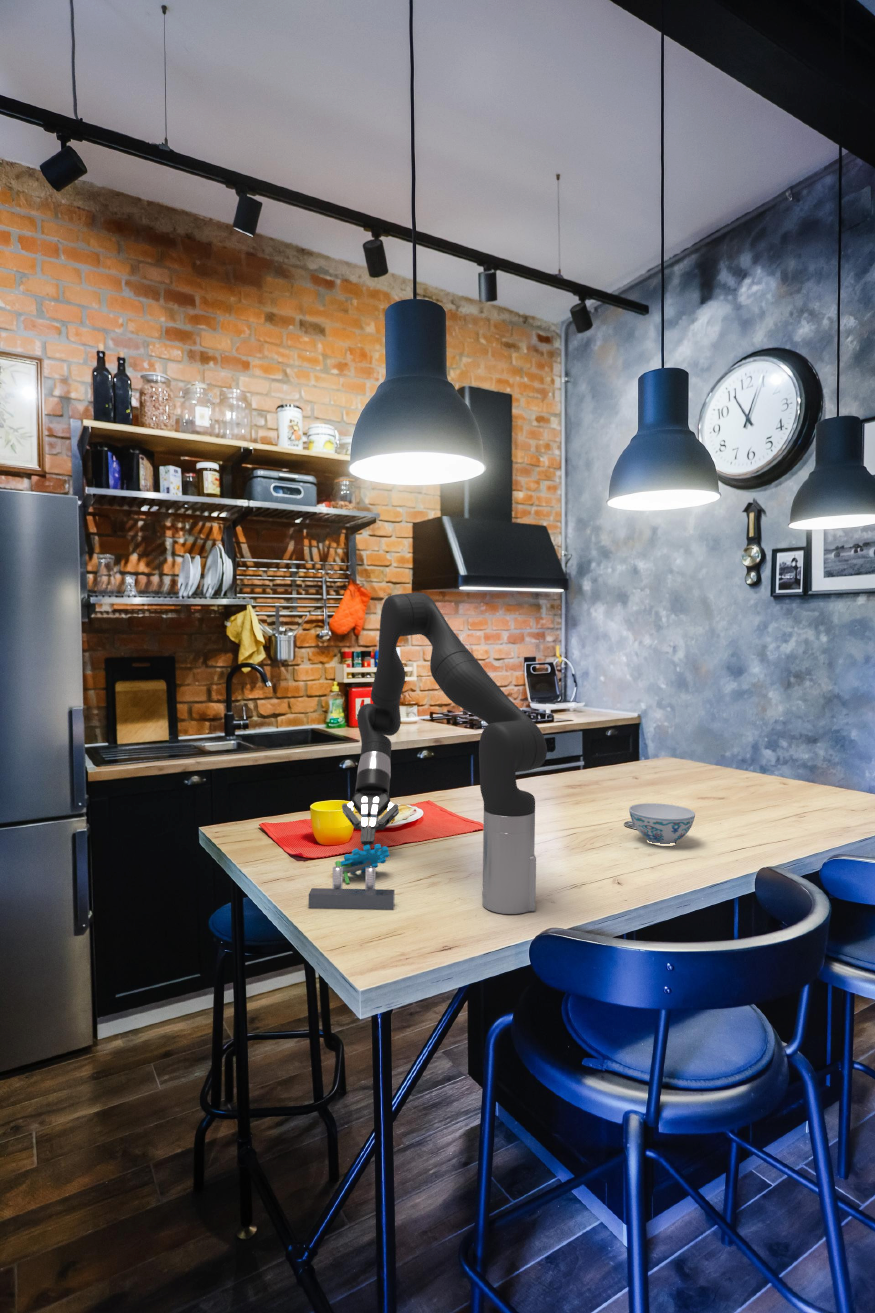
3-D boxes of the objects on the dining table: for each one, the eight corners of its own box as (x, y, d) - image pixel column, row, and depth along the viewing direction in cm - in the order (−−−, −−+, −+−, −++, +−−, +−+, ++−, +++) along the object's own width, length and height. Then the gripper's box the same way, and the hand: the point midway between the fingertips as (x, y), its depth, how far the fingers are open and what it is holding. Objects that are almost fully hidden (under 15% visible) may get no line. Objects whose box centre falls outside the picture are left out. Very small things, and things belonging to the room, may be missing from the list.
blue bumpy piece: (386, 860, 149) (390, 836, 142) (393, 887, 145) (398, 863, 138) (333, 872, 146) (335, 848, 139) (339, 899, 142) (341, 876, 135)
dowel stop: (395, 899, 132) (395, 867, 131) (393, 909, 127) (393, 876, 127) (313, 898, 132) (313, 865, 132) (308, 908, 127) (308, 874, 127)
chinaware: (615, 838, 174) (615, 806, 174) (661, 831, 181) (661, 801, 181) (660, 855, 161) (661, 821, 161) (708, 847, 168) (709, 814, 167)
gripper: (342, 766, 160) (333, 836, 148) (402, 767, 160) (397, 836, 148) (346, 785, 166) (337, 853, 154) (403, 786, 165) (399, 854, 153)
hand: (367, 845), depth 151 cm, fingers closed
